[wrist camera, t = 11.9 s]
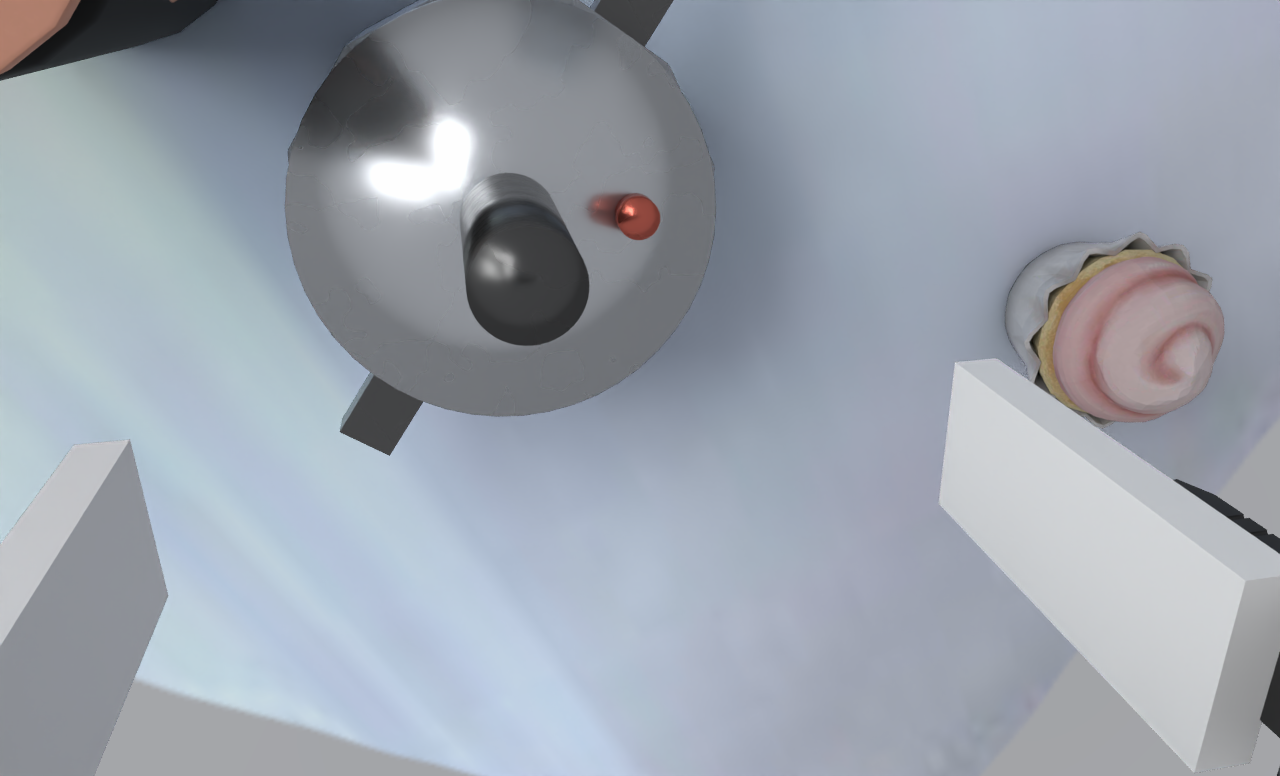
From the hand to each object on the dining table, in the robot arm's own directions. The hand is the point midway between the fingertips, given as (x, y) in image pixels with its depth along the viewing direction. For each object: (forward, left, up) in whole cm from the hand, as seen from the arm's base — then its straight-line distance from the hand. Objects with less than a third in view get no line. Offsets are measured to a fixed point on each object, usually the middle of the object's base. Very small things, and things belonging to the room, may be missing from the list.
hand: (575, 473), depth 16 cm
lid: (0, 0, -21) cm, 21 cm away
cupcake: (+27, +9, -29) cm, 40 cm away
